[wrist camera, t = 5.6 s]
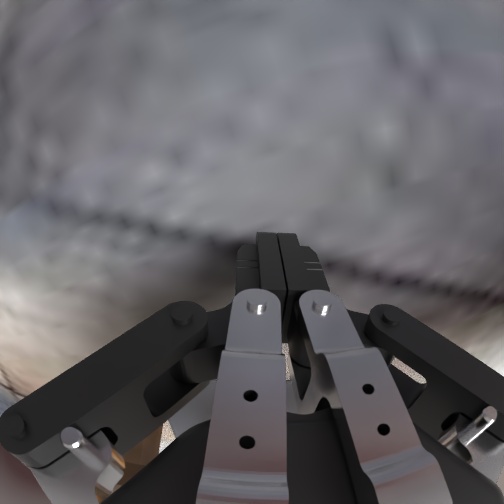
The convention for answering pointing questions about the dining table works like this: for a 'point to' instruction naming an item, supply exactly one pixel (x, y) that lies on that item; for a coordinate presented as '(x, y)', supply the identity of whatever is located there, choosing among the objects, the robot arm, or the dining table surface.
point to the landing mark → (203, 405)
